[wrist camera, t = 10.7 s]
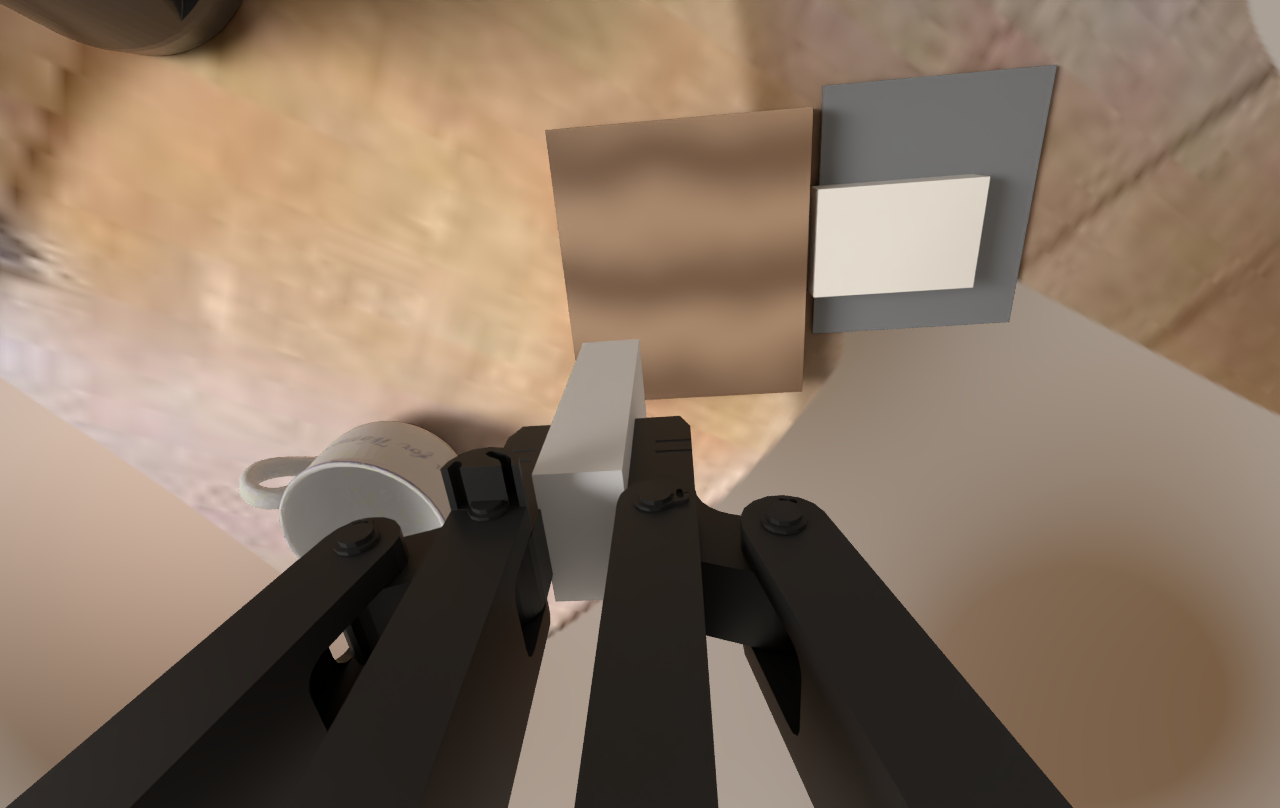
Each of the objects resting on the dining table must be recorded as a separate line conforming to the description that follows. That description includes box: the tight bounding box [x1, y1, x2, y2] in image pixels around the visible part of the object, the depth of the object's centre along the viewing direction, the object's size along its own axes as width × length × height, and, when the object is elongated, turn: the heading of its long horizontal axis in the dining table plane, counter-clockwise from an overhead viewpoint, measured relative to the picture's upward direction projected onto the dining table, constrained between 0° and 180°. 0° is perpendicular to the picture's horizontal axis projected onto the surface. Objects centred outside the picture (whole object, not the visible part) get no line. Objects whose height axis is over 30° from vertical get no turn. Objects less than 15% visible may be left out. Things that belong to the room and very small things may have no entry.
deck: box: [545, 107, 813, 400], centre depth 35 cm, size 16×14×2 cm
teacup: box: [239, 421, 458, 559], centre depth 40 cm, size 14×11×8 cm
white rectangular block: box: [807, 174, 990, 298], centre depth 34 cm, size 6×9×2 cm, turn 94°
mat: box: [812, 65, 1057, 334], centre depth 35 cm, size 14×12×1 cm
